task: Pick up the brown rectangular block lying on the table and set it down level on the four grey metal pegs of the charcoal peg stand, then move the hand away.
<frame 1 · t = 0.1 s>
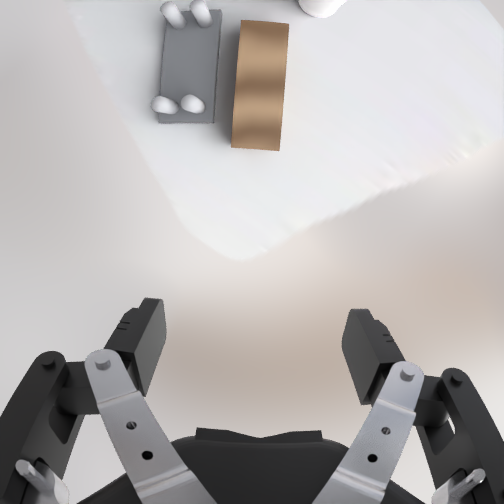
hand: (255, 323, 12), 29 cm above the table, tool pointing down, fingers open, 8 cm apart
brown rectangular block: (259, 88, 34), on the table
drinking glass: (316, 4, 29), on the table
peg stand: (191, 65, 33), on the table
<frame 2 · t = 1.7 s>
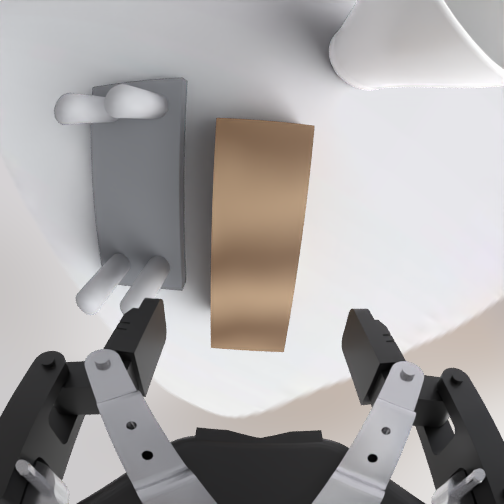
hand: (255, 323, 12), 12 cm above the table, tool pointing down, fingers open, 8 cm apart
brown rectangular block: (255, 227, 23), on the table
drinking glass: (360, 59, 18), on the table
peg stand: (140, 186, 22), on the table
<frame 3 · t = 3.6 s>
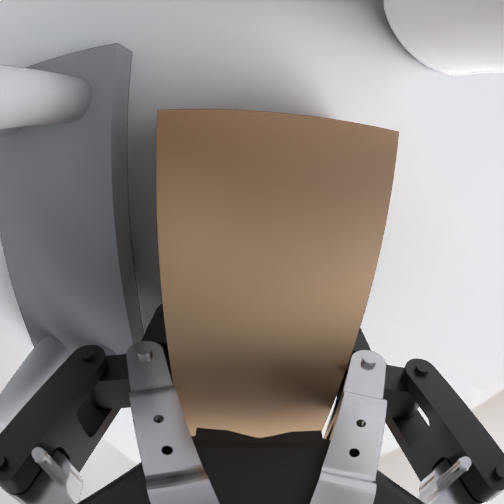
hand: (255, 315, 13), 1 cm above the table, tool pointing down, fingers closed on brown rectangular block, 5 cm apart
brown rectangular block: (256, 306, 14), on the table, touching gripper
drinking glass: (428, 24, 8), on the table
peg stand: (67, 235, 12), on the table
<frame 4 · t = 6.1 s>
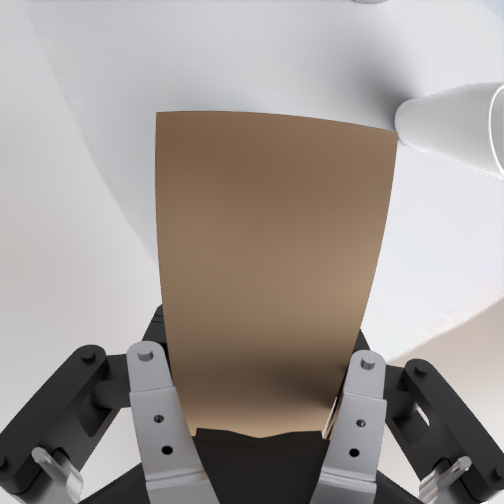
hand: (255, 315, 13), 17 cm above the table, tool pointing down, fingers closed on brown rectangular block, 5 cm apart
brown rectangular block: (256, 307, 14), point 17 cm above the table, touching gripper
drinking glass: (413, 124, 25), on the table
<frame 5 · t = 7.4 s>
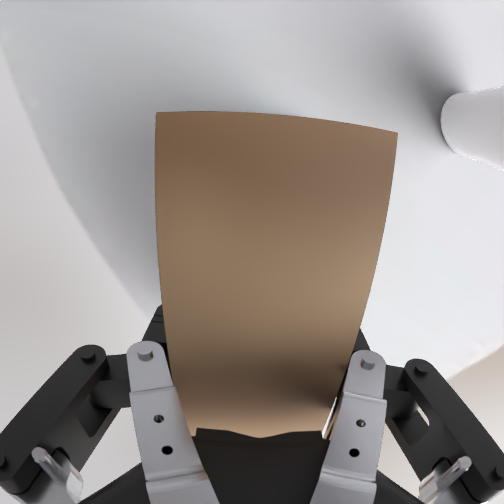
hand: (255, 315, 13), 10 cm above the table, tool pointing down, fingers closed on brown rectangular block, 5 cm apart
brown rectangular block: (256, 307, 14), point 9 cm above the table, touching gripper
drinking glass: (460, 124, 18), on the table
when the fingers open (9 cm above the table, at t = 8.5 s): brown rectangular block drops 1 cm, resting on peg stand.
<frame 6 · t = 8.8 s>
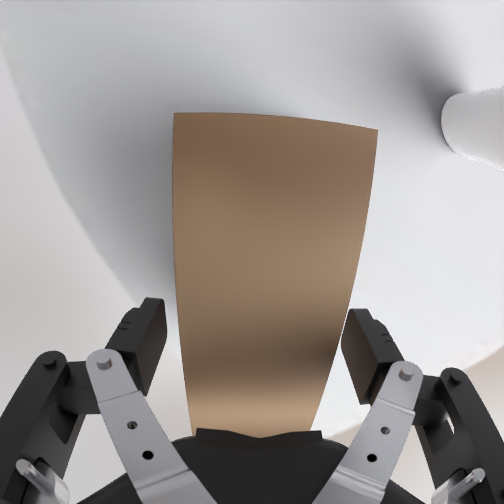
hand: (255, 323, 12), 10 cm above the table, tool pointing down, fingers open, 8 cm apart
brown rectangular block: (256, 292, 15), point 7 cm above the table, touching peg stand
drinking glass: (460, 125, 18), on the table
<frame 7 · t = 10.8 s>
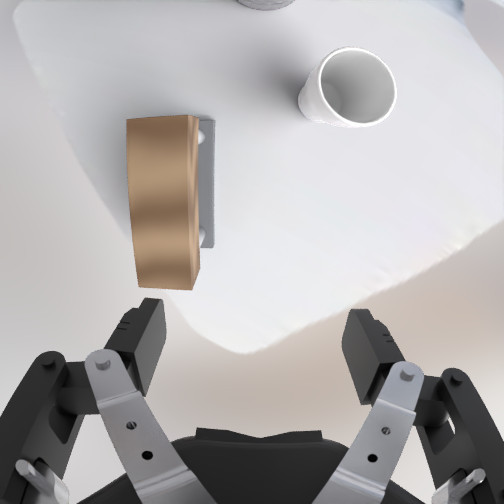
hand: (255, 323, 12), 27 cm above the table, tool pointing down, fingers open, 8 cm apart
brown rectangular block: (172, 196, 30), point 7 cm above the table, touching peg stand
drinking glass: (318, 102, 33), on the table
peg stand: (186, 184, 37), on the table
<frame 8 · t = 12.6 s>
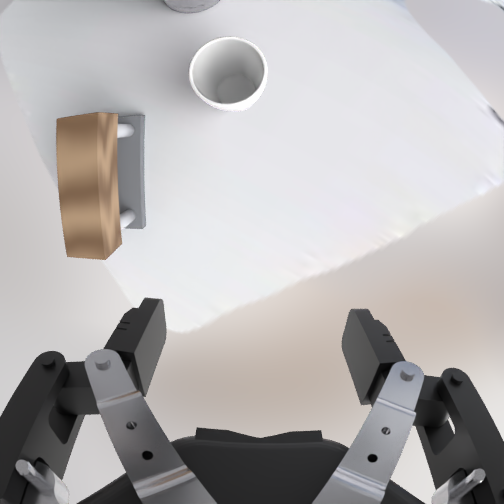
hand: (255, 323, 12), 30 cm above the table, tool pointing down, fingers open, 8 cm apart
brown rectangular block: (98, 180, 32), point 7 cm above the table, touching peg stand
drinking glass: (237, 93, 35), on the table
peg stand: (121, 172, 39), on the table
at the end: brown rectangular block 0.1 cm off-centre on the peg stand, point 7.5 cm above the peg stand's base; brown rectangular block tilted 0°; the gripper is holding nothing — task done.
